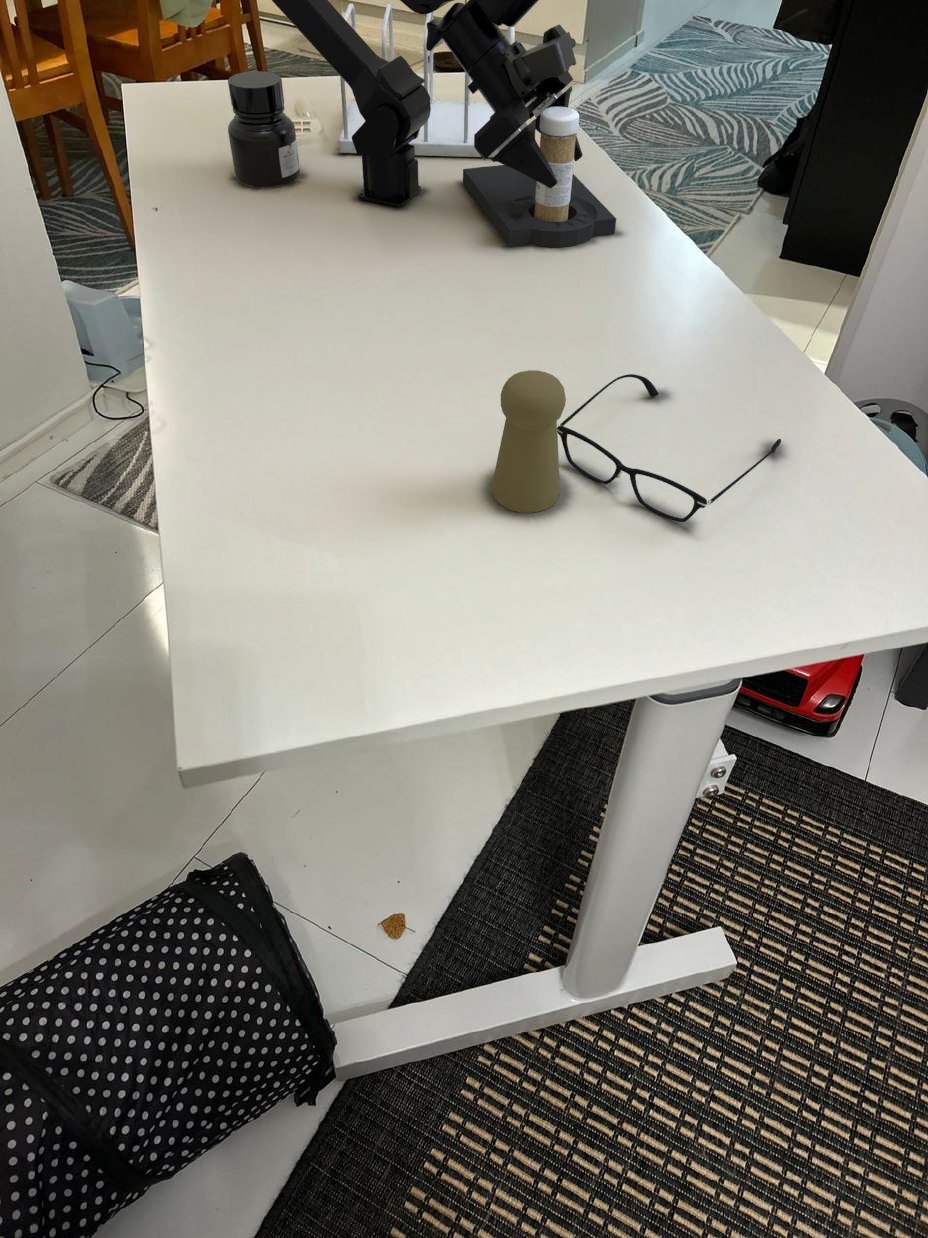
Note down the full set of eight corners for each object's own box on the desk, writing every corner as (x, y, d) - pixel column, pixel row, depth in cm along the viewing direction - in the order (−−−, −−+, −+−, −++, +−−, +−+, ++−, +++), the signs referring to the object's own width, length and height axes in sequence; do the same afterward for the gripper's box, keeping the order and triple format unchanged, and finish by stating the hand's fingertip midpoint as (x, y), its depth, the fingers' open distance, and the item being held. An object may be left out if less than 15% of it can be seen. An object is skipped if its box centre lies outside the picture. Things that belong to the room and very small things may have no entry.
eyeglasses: (543, 459, 82) (547, 422, 79) (642, 387, 90) (648, 351, 87) (700, 542, 74) (710, 504, 71) (792, 456, 82) (804, 419, 79)
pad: (462, 183, 124) (462, 168, 122) (557, 173, 127) (559, 158, 125) (513, 253, 110) (514, 236, 108) (619, 239, 112) (621, 223, 111)
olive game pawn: (512, 520, 76) (520, 409, 68) (479, 480, 79) (482, 370, 71) (573, 500, 78) (587, 389, 70) (537, 461, 81) (547, 352, 73)
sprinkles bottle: (533, 218, 116) (541, 103, 107) (568, 220, 116) (580, 105, 106) (531, 233, 113) (539, 117, 103) (568, 235, 113) (579, 119, 103)
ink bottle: (304, 187, 122) (293, 89, 113) (238, 193, 121) (222, 93, 112) (296, 160, 128) (285, 65, 120) (233, 165, 127) (217, 69, 118)
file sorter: (339, 154, 130) (328, 29, 119) (352, 113, 142) (343, -5, 130) (512, 158, 130) (518, 33, 118) (510, 116, 142) (516, -1, 130)
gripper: (504, 25, 93) (593, 156, 98) (564, -16, 104) (641, 103, 109) (435, 98, 100) (521, 216, 106) (498, 52, 112) (573, 160, 117)
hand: (567, 171), depth 109 cm, fingers open, 9 cm apart
